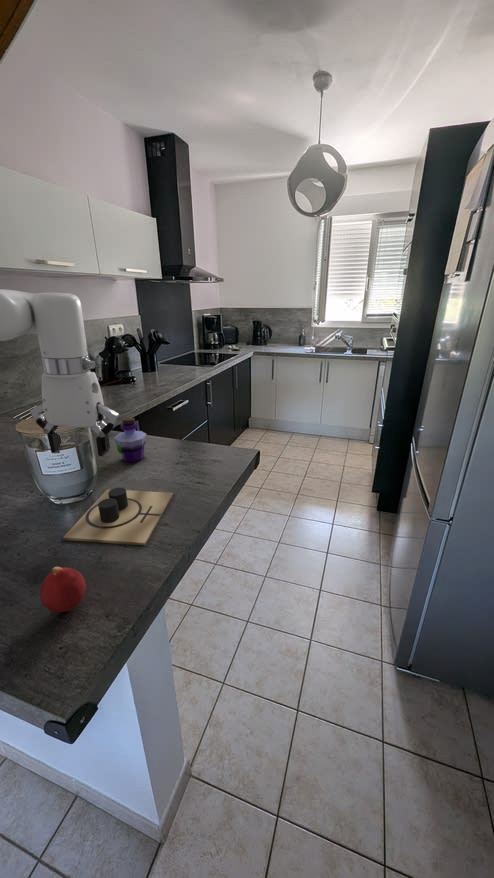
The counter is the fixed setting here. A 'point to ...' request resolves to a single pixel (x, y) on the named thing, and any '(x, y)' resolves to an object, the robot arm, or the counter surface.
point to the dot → (108, 510)
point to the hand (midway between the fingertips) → (80, 451)
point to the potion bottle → (130, 441)
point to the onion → (62, 589)
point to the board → (122, 520)
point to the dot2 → (119, 497)
